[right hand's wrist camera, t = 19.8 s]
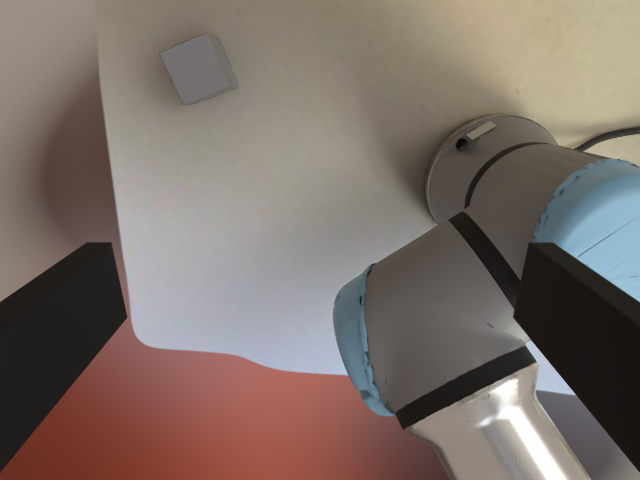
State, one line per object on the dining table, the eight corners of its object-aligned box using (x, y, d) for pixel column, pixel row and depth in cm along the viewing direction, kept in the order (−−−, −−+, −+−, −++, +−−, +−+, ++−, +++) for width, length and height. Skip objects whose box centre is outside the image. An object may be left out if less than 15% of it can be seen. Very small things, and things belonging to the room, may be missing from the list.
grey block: (219, 38, 41) (206, 32, 36) (239, 86, 43) (229, 86, 38) (176, 56, 42) (158, 52, 37) (197, 103, 43) (183, 105, 39)
